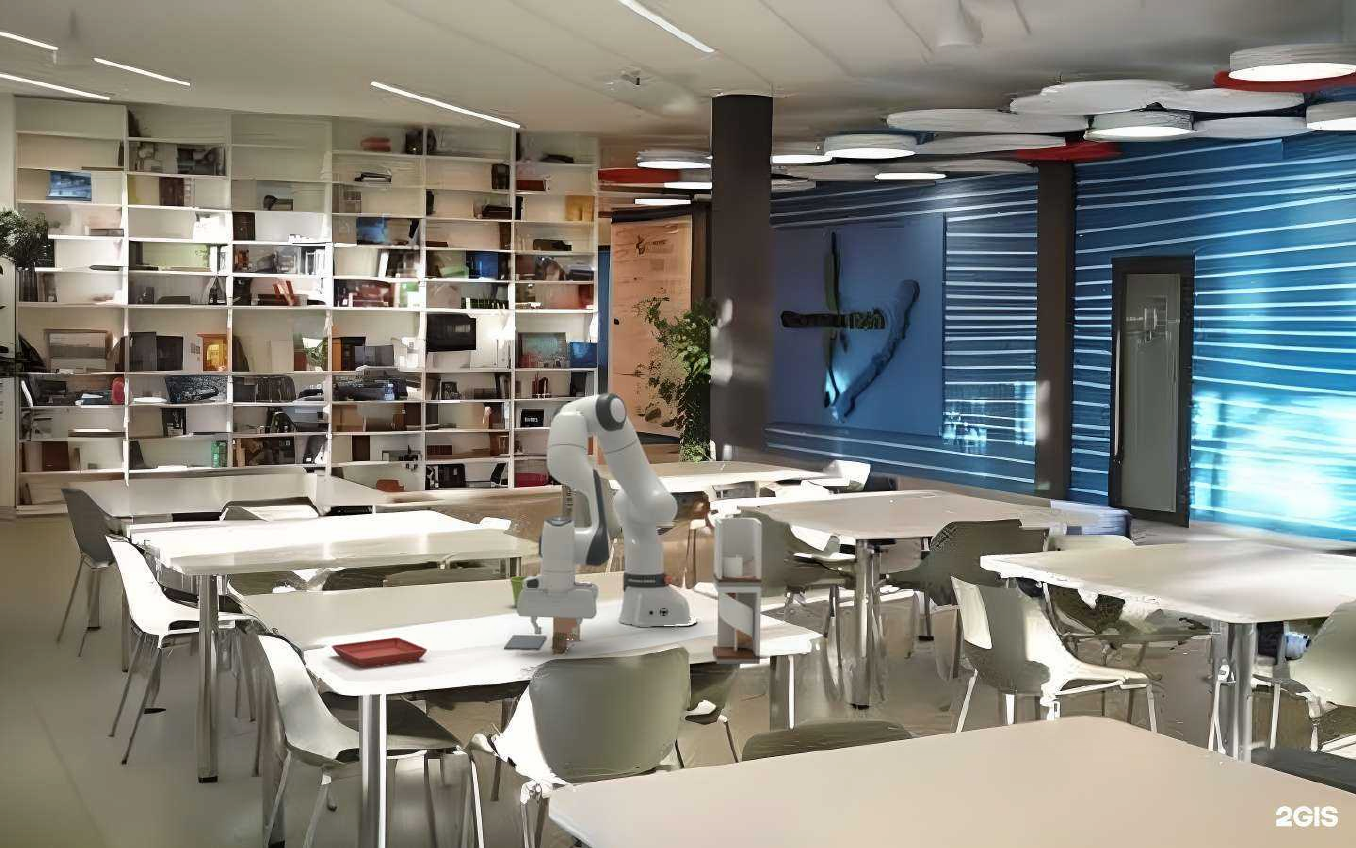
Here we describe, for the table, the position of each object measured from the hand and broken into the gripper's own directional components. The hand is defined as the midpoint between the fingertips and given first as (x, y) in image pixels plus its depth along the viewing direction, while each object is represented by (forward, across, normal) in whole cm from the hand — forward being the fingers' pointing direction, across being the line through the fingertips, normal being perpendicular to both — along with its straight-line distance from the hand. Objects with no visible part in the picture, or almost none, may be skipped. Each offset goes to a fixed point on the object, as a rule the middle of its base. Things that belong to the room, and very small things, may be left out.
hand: (556, 634), depth 351 cm
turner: (+4, -1, -4) cm, 6 cm away
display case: (+4, -46, +3) cm, 46 cm away
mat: (+4, +9, -10) cm, 14 cm away
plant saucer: (+6, +42, +13) cm, 44 cm away
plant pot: (+4, +18, -64) cm, 67 cm away
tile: (+4, -1, -16) cm, 17 cm away
